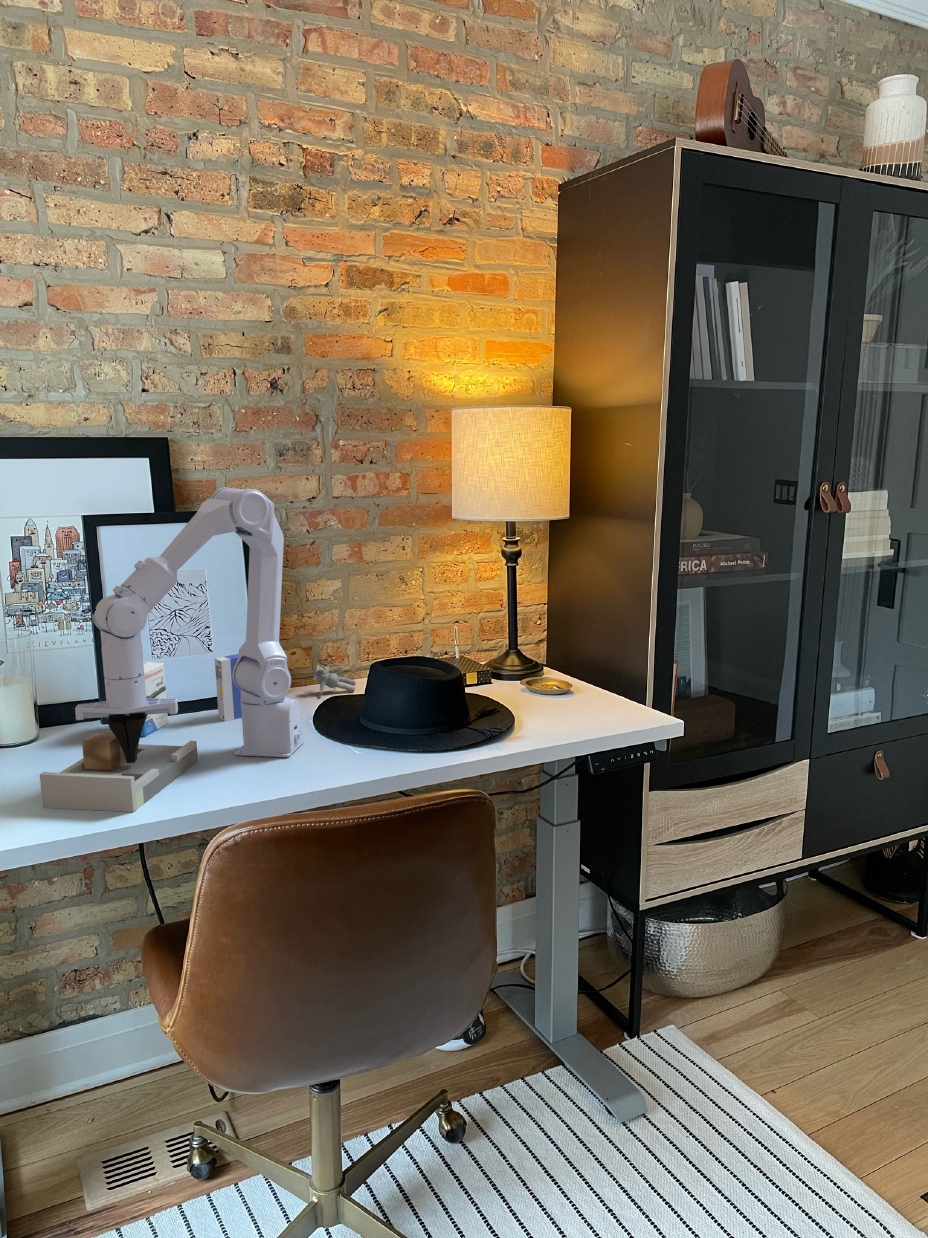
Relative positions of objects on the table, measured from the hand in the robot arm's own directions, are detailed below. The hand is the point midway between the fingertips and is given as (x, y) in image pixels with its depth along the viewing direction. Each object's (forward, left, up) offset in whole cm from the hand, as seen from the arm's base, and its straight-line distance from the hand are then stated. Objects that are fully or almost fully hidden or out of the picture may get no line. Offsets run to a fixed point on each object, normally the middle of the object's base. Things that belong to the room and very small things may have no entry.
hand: (131, 760), depth 142 cm
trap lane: (+1, 0, -3) cm, 4 cm away
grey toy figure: (-16, -53, -4) cm, 56 cm away
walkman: (-3, -35, -4) cm, 35 cm away
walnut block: (+4, 0, -1) cm, 4 cm away
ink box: (+11, -25, -4) cm, 28 cm away
